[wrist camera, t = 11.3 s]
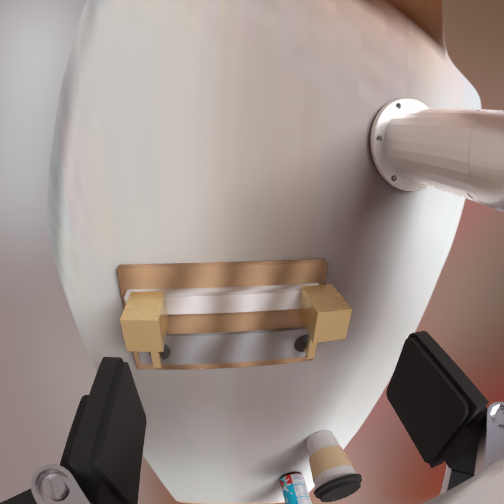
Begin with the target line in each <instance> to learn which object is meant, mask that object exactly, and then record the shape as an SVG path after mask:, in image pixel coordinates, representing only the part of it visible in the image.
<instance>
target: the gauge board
mask: <svg viewBox="0 0 504 504" xmlns="http://www.w3.org/2000/svg"><path fill="white" fill-rule="evenodd" d="M327 266H328V262H327V261H326V260H325V259H311V260H282V261H250V262H216V263H178V264H135V265H119V266H118V268H117V273H118V279H119V285H120V291H121V297H122V302H123V308H125V306H126V303H127V301H128V298H129V296H130V293H131V292H153V291H165V300H166V308H167V316H168V324H167V331H166V337H165V344H164V352H162V367H161V368H154V367H153V362H152V357H151V352H133V354H134V358H135V362H136V366H137V369H214V368H234V367H249V366H262V365H273V364H283V363H292V362H301V361H309V360H313V358H312V359H307V357H306V354H305V351H304V349H303V347H302V346H303V344H305V343H307V344H308V338H309V335H308V333H307V331H306V329H305V327H304V325H303V323H302V321H301V319H300V317H299V315H298V311H299V303H300V294H301V286H312V285H325V281H326V274H327Z"/></svg>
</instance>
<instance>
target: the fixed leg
mask: <svg viewBox="0 0 504 504" xmlns="http://www.w3.org/2000/svg"><path fill="white" fill-rule="evenodd" d="M351 313H352V308H351V307H350V306H349V304H348V303H347V302H346V301H345V299H344V298H343V297H342V296H341V295H340V293H339V292H338V291H337V290H336V288H335V287H334V286H333V285H332V284H328V285H312V286H301V294H300V303H299V311H298V315H299V317H300V319H301V321H302V323H303V325H304V327H305V329H306V331H307V333H308V335H309V338H308V344H307V343H305V344H303V346H302V347H303V349H304V351H305V354H306V357H307V359H312V358H314V357H315V352H316V347H317V343H318V342H326V341H334V340H341V339H346V335H347V331H348V326H349V322H350V317H351Z"/></svg>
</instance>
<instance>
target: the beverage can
mask: <svg viewBox="0 0 504 504" xmlns="http://www.w3.org/2000/svg"><path fill="white" fill-rule="evenodd" d="M280 483H281V487H282V491H283V495H284V499H285V503H286V504H312V502H311V500H310V496H309V493H308V490H307V487H306V484H305V481H304V478H303V475H302V474H301V473H300V472H291V473H288V474H285V475H283V476H282V477H281V478H280Z"/></svg>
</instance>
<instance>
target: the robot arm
mask: <svg viewBox="0 0 504 504" xmlns="http://www.w3.org/2000/svg"><path fill="white" fill-rule="evenodd" d="M376 138H377V139H376ZM370 144H371V153H372V157H373V160H374V163H375V166H376V168H377V170H378V171H379V173H380V175H381V176H382V177H383V178H384V179H385V180H386V181H387V182H388V183H389V184H391V185H392V186H394V187H396V188H398V189H401V190H404V191H418V190H420V189H423V188H425V187H426V186H431V187H434V188H437V189H440V190H443V191H446V192H449V193H452V194H455V195H458V196H461V197H464V198H467V199H470V200H473V201H475V202H478V203H481V204H483V205H486V206H488V207H491V208H494V209H497V210H500V211H504V111H501V110H483V109H430V108H429V107H428V106H426V105H425V104H423V103H422V102H420V101H418V100H415V99H410V98H401V99H396V100H393V101H391V102H389V103H387V104H386V105H385V106H384V107H383V108H382V109H381V110H380V111H379V113H378V114H377V116H376V118H375V120H374V122H373V126H372V129H371V137H370ZM387 398H388V400H389V402H390V403H391V405H392V407H393V408H394V410H395V412H396V413H397V415H398V416H399V418H400V420H401V422H402V423H403V425H404V427H405V428H406V430H407V432H408V434H409V435H410V437H411V439H412V440H413V442H414V444H415V445H416V447H417V449H418V451H419V453H420V454H421V456H422V458H423V459H424V461H425V462H426V463H429V464H430V466H431V468H433V467H435V466H437V465H439V464H442V463H443V462H444V461H445V462H446V464H447V467H446V472H445V476H444V481H443V485H442V490H441V493H440V495H439V496H437V497H436V498H434V499H431V500H429V501H427V502H425V503H424V504H504V402H495V403H493V404H491V405H490V407H489V408H488V409H487V408H486V405H487V404H488V401H487V399H486V398H485V397H484V396H483V395H482V394H481V392H480V391H479V390H478V389H477V388H476V387H475V385H474V384H473V383H472V382H471V381H470V379H469V378H468V377H467V376H466V375H465V374H464V372H462V370H461V369H460V368H459V367H458V366H457V365H456V363H455V362H454V361H453V360H452V359H451V358H450V357H449V356H448V354H447V353H446V352H445V351H444V350H443V349H442V348H441V347H440V346H439V345H438V343H437V342H435V340H434V339H433V338H432V337H431V336H430V335H429V334H428V333H427V332H426V331H421V332H416V333H412V334H410V335H409V337H408V338H407V339H406V340H405V343H404V346H403V349H402V352H401V354H400V357H399V360H398V363H397V365H396V368H395V371H394V373H393V376H392V378H391V381H390V384H389V386H388V388H387ZM145 430H146V415H145V412H144V410H143V407H142V404H141V401H140V398H139V395H138V392H137V389H136V386H135V383H134V380H133V377H132V374H131V371H130V367H129V364H128V363H127V362H123V360H122V358H115V357H104V358H103V359H102V361H101V364H100V366H99V369H98V372H97V375H96V377H95V380H94V383H93V385H92V388H91V391H90V394H89V395H84V396H83V397H82V399H81V401H80V404H79V407H78V409H77V412H76V415H75V418H74V421H73V424H72V427H71V430H70V433H69V436H68V439H67V442H66V446H65V449H64V452H63V456H62V459H61V463H60V466H59V465H55V464H50V465H45V466H42V467H40V468H39V469H37V471H36V472H35V473H34V474H33V476H32V478H31V489H29V490H27V491H25V492H23V493H21V494H19V495H16V496H14V497H12V498H10V499H8V500H6V501H3V502H1V503H0V504H137V503H138V491H139V481H140V470H141V462H142V453H143V445H144V437H145Z"/></svg>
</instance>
